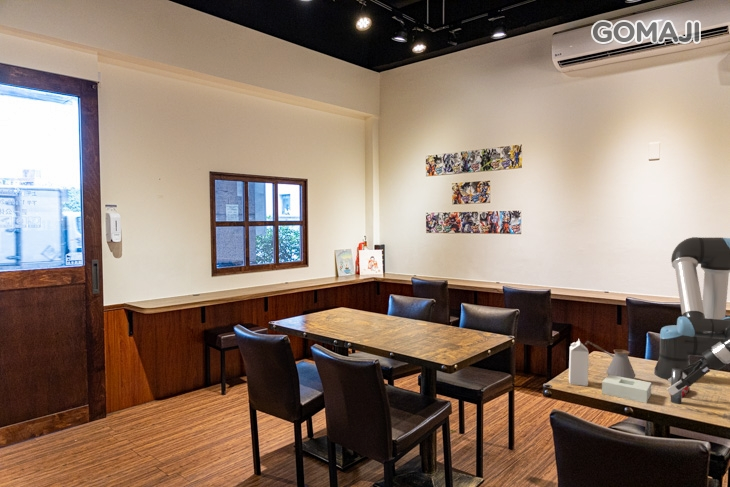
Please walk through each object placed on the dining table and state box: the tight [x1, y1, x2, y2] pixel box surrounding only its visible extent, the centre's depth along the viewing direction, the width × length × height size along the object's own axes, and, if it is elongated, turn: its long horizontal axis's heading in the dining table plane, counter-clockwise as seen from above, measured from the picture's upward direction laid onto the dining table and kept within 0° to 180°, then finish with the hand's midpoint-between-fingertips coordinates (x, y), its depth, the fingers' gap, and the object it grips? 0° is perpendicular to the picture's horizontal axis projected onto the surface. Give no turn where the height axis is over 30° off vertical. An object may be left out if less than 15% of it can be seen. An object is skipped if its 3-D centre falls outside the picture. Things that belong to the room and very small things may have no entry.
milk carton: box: [568, 338, 590, 387], centre depth 209 cm, size 7×7×19 cm
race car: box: [682, 386, 691, 398], centre depth 198 cm, size 13×5×4 cm, turn 132°
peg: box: [670, 368, 683, 405], centre depth 187 cm, size 4×4×13 cm
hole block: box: [601, 374, 652, 404], centre depth 196 cm, size 16×12×5 cm
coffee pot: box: [584, 340, 636, 379], centre depth 217 cm, size 21×12×15 cm, turn 45°
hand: (669, 387), depth 189 cm, fingers open, 13 cm apart
